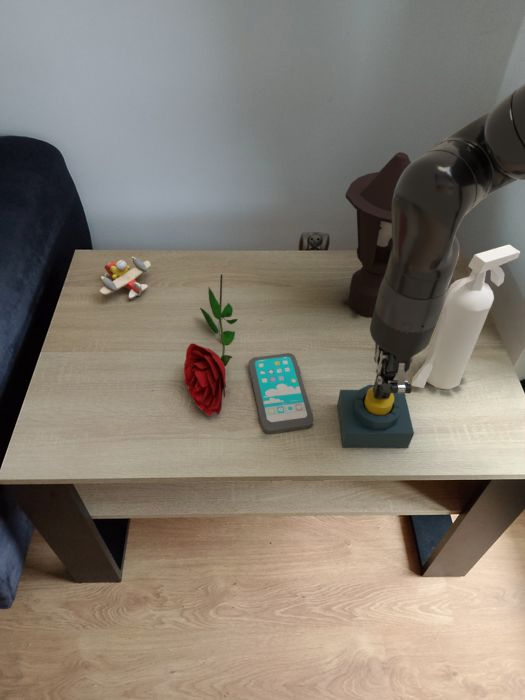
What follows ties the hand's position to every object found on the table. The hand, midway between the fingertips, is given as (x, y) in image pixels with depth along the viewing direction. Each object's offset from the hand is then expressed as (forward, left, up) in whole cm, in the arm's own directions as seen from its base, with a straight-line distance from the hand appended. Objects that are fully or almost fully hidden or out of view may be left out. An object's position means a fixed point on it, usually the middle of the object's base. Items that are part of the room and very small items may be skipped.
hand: (380, 394), depth 74 cm
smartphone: (+15, +3, -8) cm, 17 cm away
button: (0, 0, -2) cm, 2 cm away
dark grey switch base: (0, 0, -8) cm, 8 cm away
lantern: (+13, -25, -8) cm, 29 cm away
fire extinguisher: (-5, -15, -8) cm, 18 cm away
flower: (+30, +2, -8) cm, 31 cm away
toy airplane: (+54, -2, -8) cm, 54 cm away
